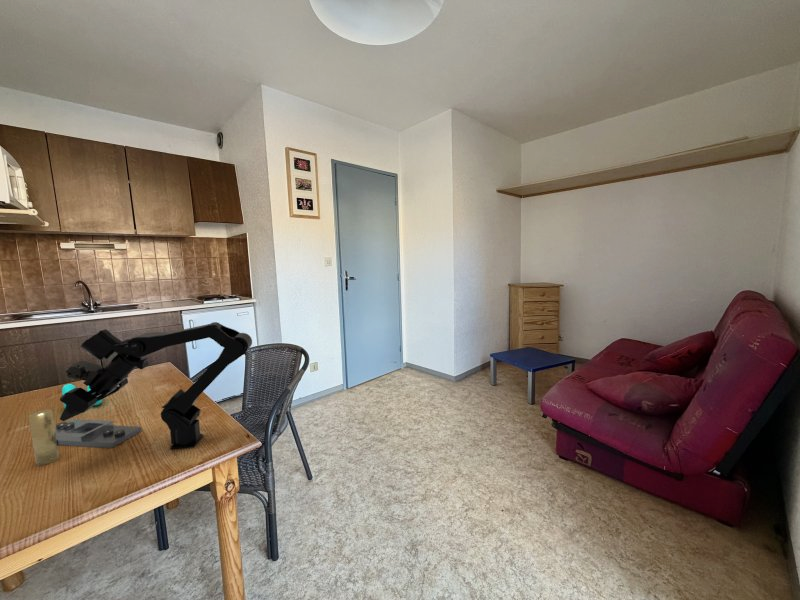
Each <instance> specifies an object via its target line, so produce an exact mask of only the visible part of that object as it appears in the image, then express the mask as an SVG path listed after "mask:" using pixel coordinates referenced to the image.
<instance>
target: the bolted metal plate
mask: <svg viewBox="0 0 800 600" xmlns="http://www.w3.org/2000/svg"><path fill="white" fill-rule="evenodd" d="M141 432H142V426H134V425H133V426H131V425H114V421H113V420H100V419H99V420H98V419H97V420H96V419H80V418H79V419H75V418H74V419H72V420H70V421H62V422H59V423H57V424H55V434H56V441H57V445H58V446H69V447H72V446H73V447H84V448H85V447H86V448H101V449H102V448H105V449H114V448H115V447H117V446H119V445H120V444H122V443H123V442H125V441H127V440H129V439H131V438H132V437H134V436H136V435H138V434H140V433H141Z"/></svg>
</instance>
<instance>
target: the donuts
mask: <svg viewBox="0 0 800 600" xmlns="http://www.w3.org/2000/svg"><path fill="white" fill-rule="evenodd" d="M74 388H77V387H76V386H75V385H74V384H71V383H67V384H65V385H63V386H62V389H61V394H62V395H61V396H63V395H64V394H65V393H66V392H68V391H70V390H72V389H74ZM86 388H87V390H86V391H87V392H88V391H90V390H91V389H90V388H89V385H88V386H86ZM102 402H103V399H101V400H99V401H97V403H96V404H95V405H94V406H98V405H100V404H102ZM62 403H63V402H62ZM63 407H64V408H63V410H64V409H65V407H66V404H65V403H63Z"/></svg>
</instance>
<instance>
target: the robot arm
mask: <svg viewBox="0 0 800 600" xmlns="http://www.w3.org/2000/svg"><path fill="white" fill-rule="evenodd" d="M205 339H211V340H213V341H214V342H215V343H217V345H219V346H220V347H222V348H223V349H222V350H221V353H220V354H219V356H218V358H217V359H216V360H215V361H213V363H212V364H211V365H210V366H209V367H208V368H207V369H206V370H205V371H204V372H203V373H202V374H201V375H200V376H199V377H198V378H197V379H196V380H195V381H194V382H193V384H191V386H190V387H189V388H188V389H186V390H185V391H184V390H183V389H182V388H180V389H179V390H178V391H176V393H175V394H173V395H172V396H171V397H170V399H169V400H168V401H166V403H164V404H163V405H162V406H161V408H162V410H161V411H160V418H161V420H162V421H163V422H164V423H165V424H166V426H167V427H168V429H169V430H170V432H169V434H170V443H171V446H170V450H177V449H186V448H193V447H196V445H197V444H198V443H199V442H200V441H201V439H202V437H203V436H204V434H203V433H201V426H200V419H199V418H198V417H199V416H200V414H201V412H202V410H201V408H199V407H198V406H196V405H195V403H196V402H197V400H198V399H199V397H200V395H201V394H203V392H204V391H205V390H206V389H207V388H208V387H209V386H210V385H211V384H212V383H213V382H214V381H215V379H217V378H218V377H219V375H221V373H222V372H224V370H225V369H226V368H227V367H228V366H229V365H231V364H233V362H235V361H237V360H238V359H239V358H241V357H242V356H243V355H245V354H246V353H247V352H248V350H249V349H250V348H251V347H252V345H253V339H252V337H251V336H250V335H249V334H248V333H246V332H239V331H238V330H236V329H233V328H231V327H227V326H226V325H223V324H221V323H220V322H217V321H213V322H211V323H208V324H203V325H199V326H194V327H188V328H185V329H183V328H182V329H179V330H174V331H170V332H161V331H160V332H158V331H157V332H145V333H142V334H140V335H137V336H135V337H132V338H128V339H124V340H121V339H119V338H118V337H116V336H115V335H114V334H112V333H111V331H109V330H108V329H107V328H105V329H101V330H100V331H99V332H97V333H95V334H94V335H92V336H90V337H89V338H88V339H85V341H83V342H82V343H81V345H80V348H81V349H82V350H84V351H85V352H87V353H89V354H90V355H92V356H93V357H94V358H95V359H98V360H99V361H103V360H108V361H109V360H110V359H111V360H110V361H109V362H108V363H106V365H105V366H101V365H99V364H96V363H93V362H89V361H87V360H81V361H77V362H76V363H73V364H72V365H71V366H69V367H68V369H66V370H65V373H66V377H67V378H69V379H70V378H71V379H73V380H80V381H83V382H82V383H83V385H85V386H86V387H87V386H88V385H89V388H90V389H91V390H90V391H87V390H86V389H84V388H82V387H76V388H74V389H72V390H70V391H68V392H66V393H65V394H64V395H61V397H60V398H59V402H61V403H65V404H66V407H65V409H64V408H63V412H62V413H61V415H60V417H59V420H60V421H62V422H66V421H67V420H69V419H72V418H74V417H76V416H79V415H81V414H83V413H85V412H87V411H88V410H90V409H91V408H93V406H96V405H95V404H96V403H97V401H99V400H101V399H102V400H103V399H106V398H107V397H109V396H111V395H113V394H115V393H116V392H118V391H120V390H121V389H123V388H125V386H127V384H129V381H128V380H129V379H128V378H129V375H130V374H131V373H132V372H133V371H134V370H135V369H136V368H138V369H139V370H143V369H145V368H146V367H149V365H150V364H149V360H148V359H149V358H148V357H145V356H148V355H150V354H153V353H155V352H158V351H161V350H163V349H166V348H168V347H172V346H177V345H182V344H186V343H190V342H191V343H192V342H195V341H196V342H197V341H199V340H205ZM113 357H114V358H113Z"/></svg>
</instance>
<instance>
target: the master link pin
mask: <svg viewBox="0 0 800 600" xmlns="http://www.w3.org/2000/svg"><path fill="white" fill-rule="evenodd" d="M28 420H29V427H30V433H31V438H32V445H33V453H34V460H35V465H36V466H37V467H40V466H46V465H50V464H53V463H54V462H56V461H58V460H59V458H60V457H59V456H60V455H59V449H58V440H56V434H55V428H56V426H55V422H54V421H55V420H54V414H53V409H49V408H48V409H47V408H46V409H41V410H38V411H34V412H31V413H30V414H29V415H28Z"/></svg>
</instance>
